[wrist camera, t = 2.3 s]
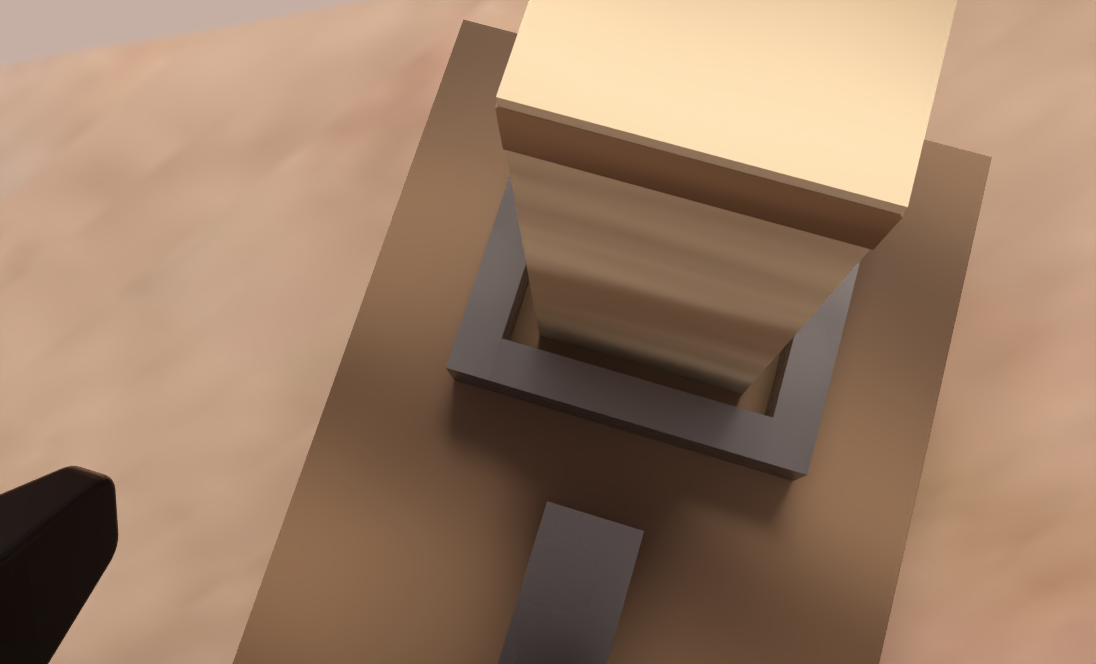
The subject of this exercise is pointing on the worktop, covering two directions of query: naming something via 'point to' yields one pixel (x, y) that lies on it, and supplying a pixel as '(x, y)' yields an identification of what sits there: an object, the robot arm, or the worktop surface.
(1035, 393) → the worktop surface
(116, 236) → the worktop surface
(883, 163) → the pale gold square block
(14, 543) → the robot arm
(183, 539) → the worktop surface
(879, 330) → the brown slab with collar
